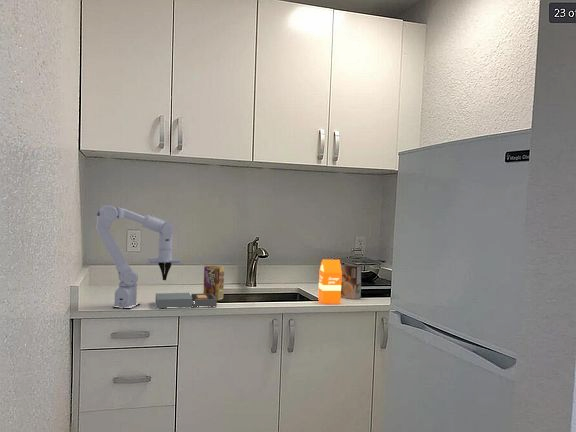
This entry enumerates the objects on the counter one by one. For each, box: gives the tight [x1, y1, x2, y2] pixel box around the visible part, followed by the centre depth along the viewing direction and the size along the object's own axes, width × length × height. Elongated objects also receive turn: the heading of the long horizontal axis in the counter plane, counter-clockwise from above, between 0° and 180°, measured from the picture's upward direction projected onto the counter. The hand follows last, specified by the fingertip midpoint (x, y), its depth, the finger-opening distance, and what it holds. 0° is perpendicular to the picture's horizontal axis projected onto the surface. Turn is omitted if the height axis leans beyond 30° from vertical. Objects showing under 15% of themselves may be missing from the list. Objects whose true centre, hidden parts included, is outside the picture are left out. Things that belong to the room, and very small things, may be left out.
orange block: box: [196, 295, 208, 299], centre depth 226 cm, size 4×6×3 cm, turn 18°
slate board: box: [155, 292, 193, 309], centre depth 222 cm, size 14×13×4 cm
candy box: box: [203, 264, 225, 301], centre depth 238 cm, size 9×4×15 cm, turn 62°
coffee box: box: [340, 263, 362, 300], centre depth 253 cm, size 9×6×16 cm
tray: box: [190, 292, 218, 308], centre depth 225 cm, size 10×13×4 cm
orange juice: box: [317, 259, 342, 304], centre depth 241 cm, size 8×9×20 cm
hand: (164, 279), depth 224 cm, fingers closed
